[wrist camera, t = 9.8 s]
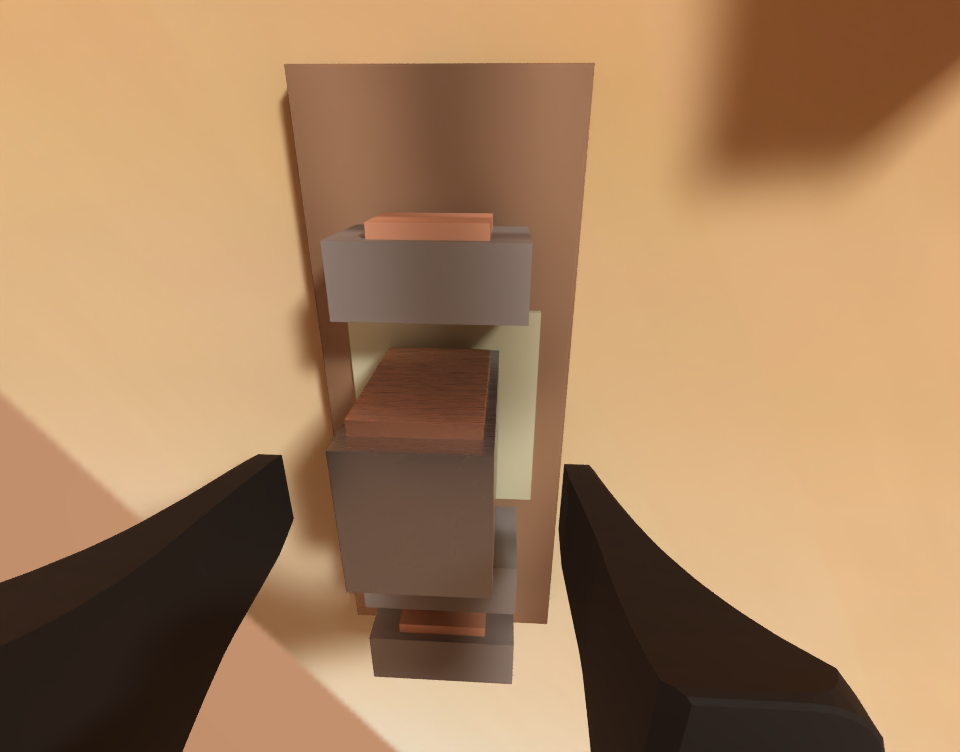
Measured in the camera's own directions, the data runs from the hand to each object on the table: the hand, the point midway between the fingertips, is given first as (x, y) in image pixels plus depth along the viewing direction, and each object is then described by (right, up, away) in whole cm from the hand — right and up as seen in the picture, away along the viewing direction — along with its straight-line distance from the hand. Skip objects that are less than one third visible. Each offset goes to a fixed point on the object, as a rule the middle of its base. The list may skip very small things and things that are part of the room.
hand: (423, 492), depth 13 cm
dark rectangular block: (0, +2, +4) cm, 4 cm away
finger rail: (0, +2, +5) cm, 6 cm away
